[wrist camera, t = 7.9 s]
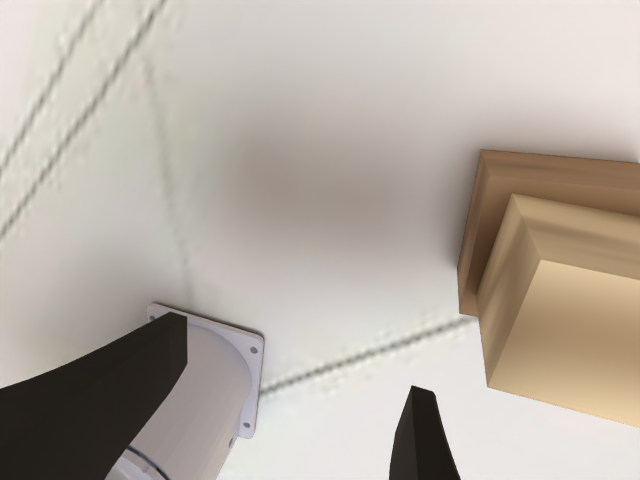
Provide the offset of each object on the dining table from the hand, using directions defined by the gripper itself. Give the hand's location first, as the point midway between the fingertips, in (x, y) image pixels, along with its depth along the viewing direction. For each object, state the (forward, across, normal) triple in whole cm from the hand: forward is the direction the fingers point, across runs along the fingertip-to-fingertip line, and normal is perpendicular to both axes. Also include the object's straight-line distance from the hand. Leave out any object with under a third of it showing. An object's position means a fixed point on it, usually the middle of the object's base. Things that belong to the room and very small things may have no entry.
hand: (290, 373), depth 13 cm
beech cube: (+6, -8, -3) cm, 10 cm away
